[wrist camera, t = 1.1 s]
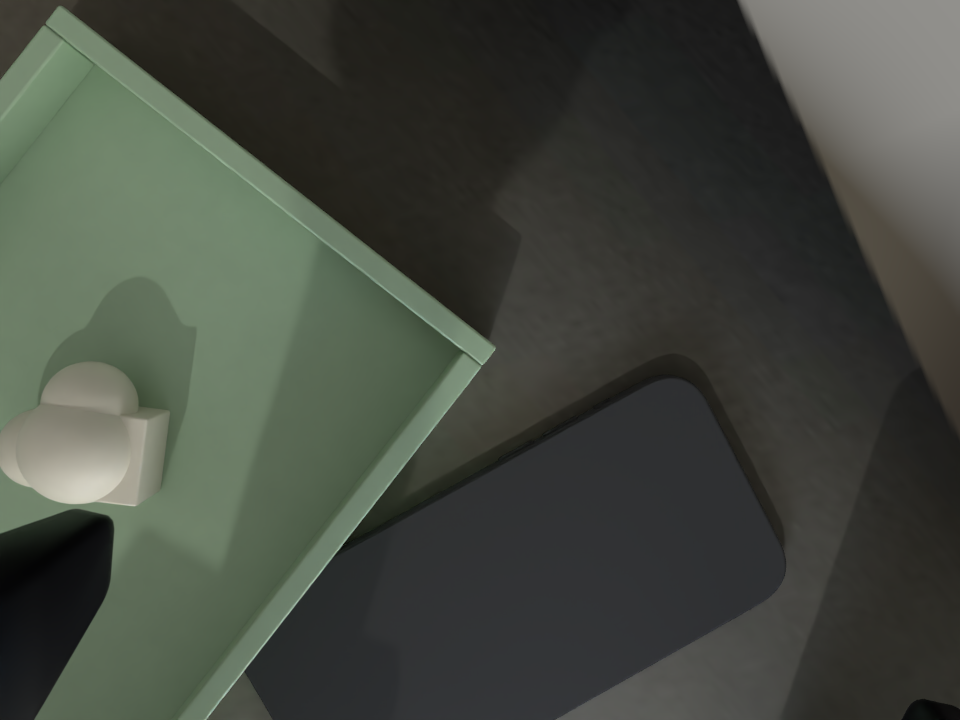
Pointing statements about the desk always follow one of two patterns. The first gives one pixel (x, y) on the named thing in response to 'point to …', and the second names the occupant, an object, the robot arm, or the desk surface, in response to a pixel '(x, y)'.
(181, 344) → the tray
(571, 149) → the desk surface
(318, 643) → the phone
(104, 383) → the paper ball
